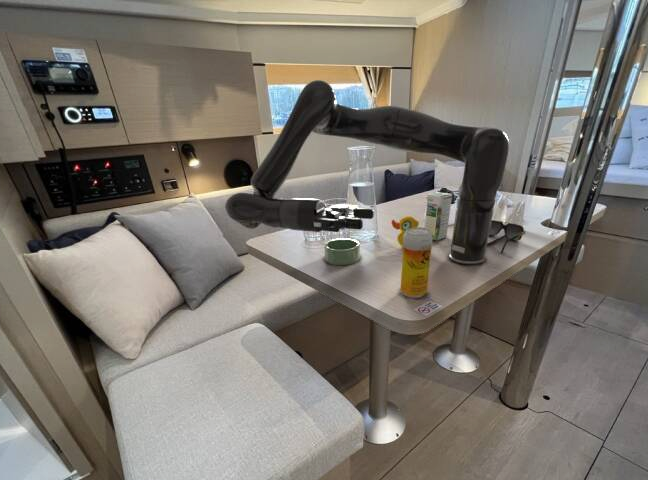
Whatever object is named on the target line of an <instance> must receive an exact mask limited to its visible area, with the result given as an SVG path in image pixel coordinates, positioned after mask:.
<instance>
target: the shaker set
mask: <svg viewBox="0 0 648 480" xmlns="http://www.w3.org/2000/svg"><path fill="white" fill-rule="evenodd" d="M508 203H509V195H508V194H505V195H504V194H502V195H501V196H500V197H499V199H497V202H496V203H495V205H494V211H493V216H492V220H495V221H502V222H508V223H513V224H517V225H520V226H522V227H523V225H524V224H523V223H524V217H525V209H526V208H525V206H526V201H522V203H521V200H519V201H518V202H517V203H516V205H515V206H514V207H513V209H512V211H511V212H510V214H509V215H508V217H507V214H508V213H507V212H508ZM508 223H503V225H507V224H508Z"/></svg>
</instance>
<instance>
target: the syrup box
mask: <svg viewBox="0 0 648 480" xmlns="http://www.w3.org/2000/svg"><path fill="white" fill-rule="evenodd" d="M426 198H427V199H426V208H425V219H424V220H425V221H424V228H427V229H430V230H431V233H432V236H433V238H432V241H433V240H434V241H440V240H443V239H444V238H447V236H448V229H449V222H450V221H449V220H450V214H451V205H452V200H453V199H452V198H453V193H446V192H440V191H439V192H438V191H436V192H431V193H427V196H426Z"/></svg>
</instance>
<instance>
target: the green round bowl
mask: <svg viewBox="0 0 648 480" xmlns="http://www.w3.org/2000/svg"><path fill="white" fill-rule="evenodd" d="M323 245H324V246H323V247H324V260H325V262H326V263H328V264H329V265H334V266H347V265H351V264H355V263H357V262H358V261H359V260H360V257H361V250H360V249H361V248H360V245H361V244H360V242H359V241H358V240H357V239H351V238H336V239H330V240H328V241H326V242H325V243H324V244H323Z"/></svg>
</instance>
